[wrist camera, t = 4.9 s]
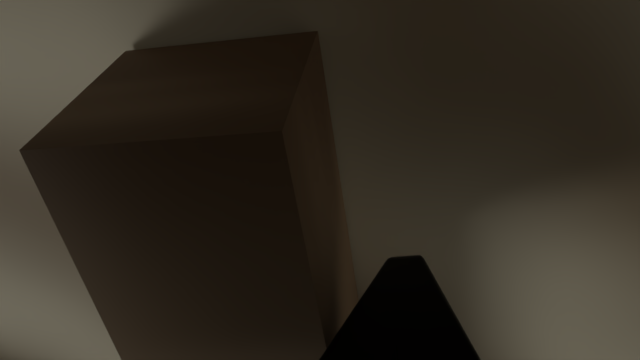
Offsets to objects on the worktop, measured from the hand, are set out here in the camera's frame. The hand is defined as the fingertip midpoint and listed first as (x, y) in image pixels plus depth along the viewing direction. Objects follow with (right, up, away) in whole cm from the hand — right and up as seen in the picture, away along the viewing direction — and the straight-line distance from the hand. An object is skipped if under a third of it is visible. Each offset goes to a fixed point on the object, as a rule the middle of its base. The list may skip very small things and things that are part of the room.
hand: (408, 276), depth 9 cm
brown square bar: (-2, -3, +4) cm, 5 cm away
